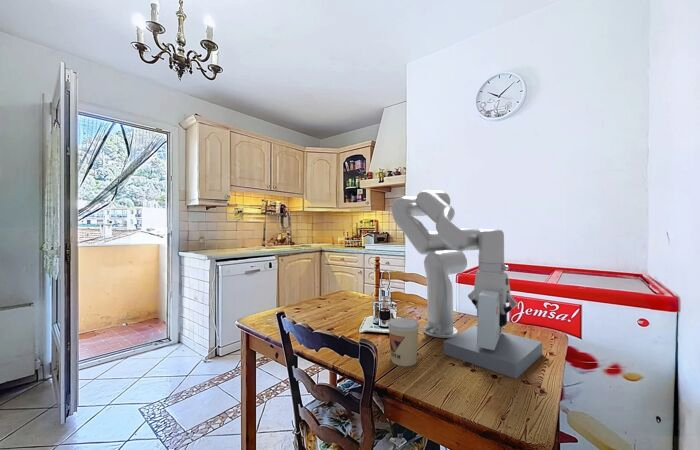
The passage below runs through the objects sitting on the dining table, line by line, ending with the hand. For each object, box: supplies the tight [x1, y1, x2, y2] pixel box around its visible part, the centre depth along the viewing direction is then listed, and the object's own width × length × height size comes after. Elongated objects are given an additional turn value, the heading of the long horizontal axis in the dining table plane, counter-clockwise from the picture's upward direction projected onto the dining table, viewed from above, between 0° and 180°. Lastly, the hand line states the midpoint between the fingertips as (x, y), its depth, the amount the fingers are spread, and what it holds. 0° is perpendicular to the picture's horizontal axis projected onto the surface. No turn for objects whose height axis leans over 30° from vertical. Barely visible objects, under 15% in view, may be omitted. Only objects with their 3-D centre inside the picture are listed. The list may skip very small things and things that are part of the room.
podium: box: [442, 324, 543, 380], centre depth 98 cm, size 22×22×4 cm
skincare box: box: [476, 290, 504, 350], centre depth 98 cm, size 21×5×16 cm, turn 147°
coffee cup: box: [388, 317, 420, 367], centre depth 95 cm, size 9×9×12 cm
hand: (491, 322), depth 98 cm, fingers closed on skincare box, 6 cm apart
